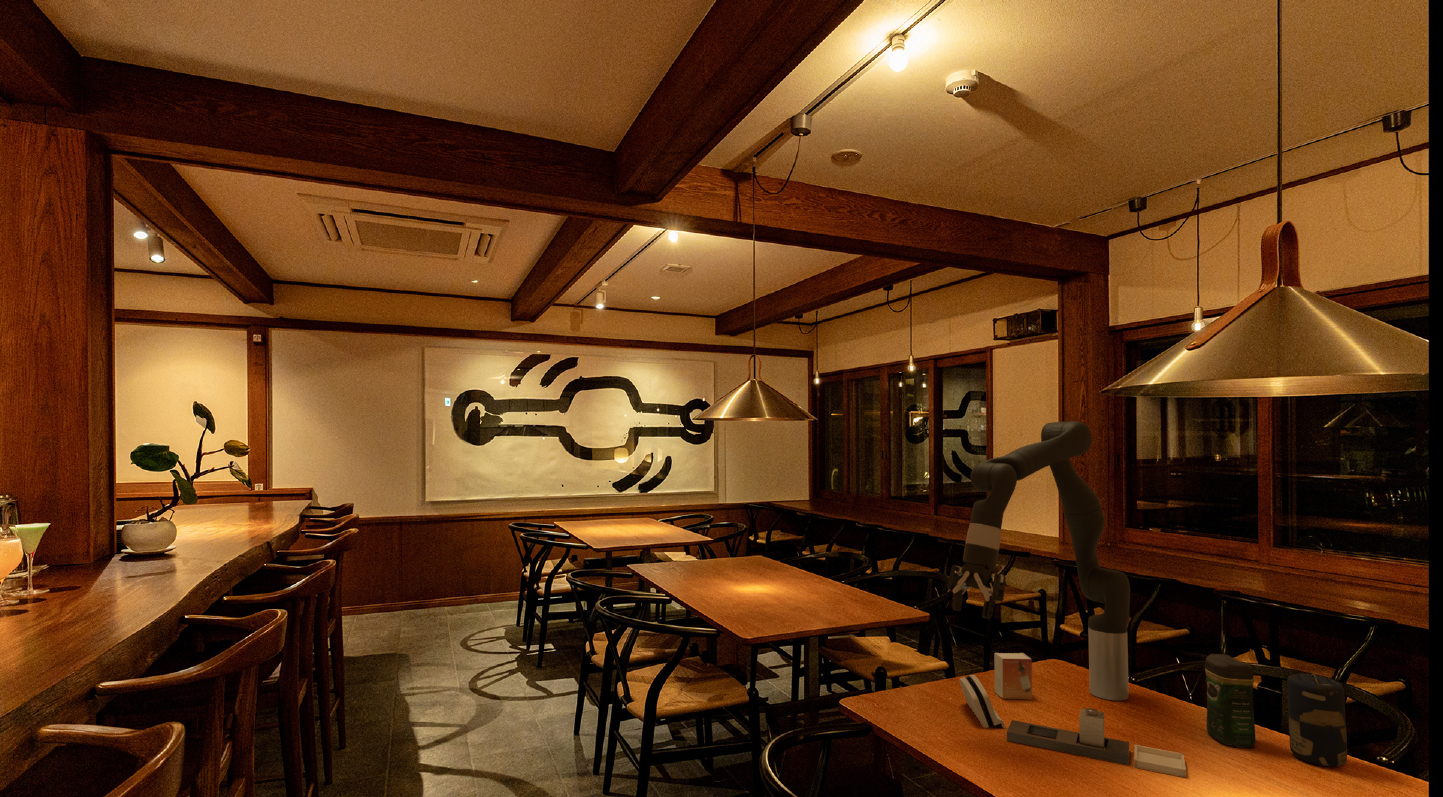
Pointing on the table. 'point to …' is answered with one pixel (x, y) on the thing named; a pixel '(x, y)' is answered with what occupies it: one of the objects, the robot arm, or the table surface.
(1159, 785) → the table surface
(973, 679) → the beige device enclosure
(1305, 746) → the canister
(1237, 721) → the coffee jar
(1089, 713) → the grey rectangular block
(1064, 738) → the rack rail
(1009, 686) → the small box
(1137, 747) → the parts tray
